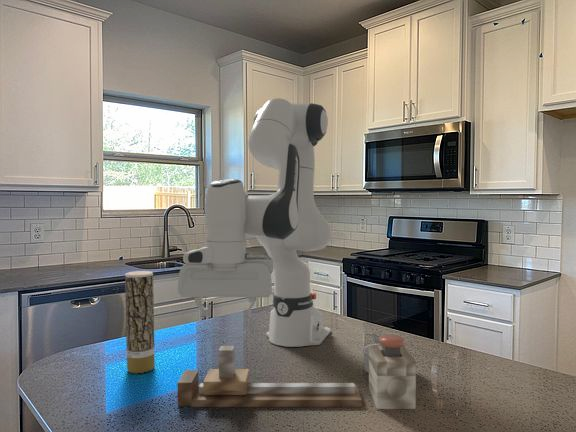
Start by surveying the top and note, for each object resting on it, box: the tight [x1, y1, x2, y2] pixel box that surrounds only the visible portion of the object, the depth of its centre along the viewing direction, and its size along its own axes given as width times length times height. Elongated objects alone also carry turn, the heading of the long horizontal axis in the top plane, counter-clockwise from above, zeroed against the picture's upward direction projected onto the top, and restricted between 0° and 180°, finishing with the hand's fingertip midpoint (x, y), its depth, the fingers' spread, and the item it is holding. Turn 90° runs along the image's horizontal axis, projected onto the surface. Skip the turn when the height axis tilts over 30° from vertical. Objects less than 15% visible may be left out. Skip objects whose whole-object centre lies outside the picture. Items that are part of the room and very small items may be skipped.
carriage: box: [202, 345, 250, 395], centre depth 98 cm, size 9×7×9 cm
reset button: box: [378, 334, 405, 357], centre depth 97 cm, size 5×5×4 cm
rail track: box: [176, 345, 417, 410], centre depth 98 cm, size 50×10×10 cm, turn 89°
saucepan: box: [362, 333, 410, 374], centre depth 117 cm, size 12×20×6 cm, turn 1°
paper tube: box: [124, 270, 156, 374], centre depth 114 cm, size 7×7×25 cm
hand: (225, 317), depth 97 cm, fingers open, 8 cm apart
